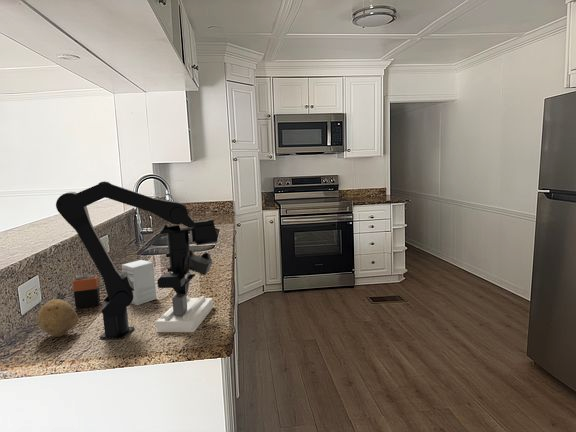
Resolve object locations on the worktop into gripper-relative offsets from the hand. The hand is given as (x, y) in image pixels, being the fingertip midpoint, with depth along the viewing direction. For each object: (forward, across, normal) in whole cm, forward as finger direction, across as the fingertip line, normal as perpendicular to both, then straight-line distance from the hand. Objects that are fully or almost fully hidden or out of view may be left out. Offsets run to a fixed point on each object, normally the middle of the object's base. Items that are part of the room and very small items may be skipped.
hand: (183, 301), depth 114 cm
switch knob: (+2, -3, 0) cm, 4 cm away
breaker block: (+6, +1, 0) cm, 6 cm away
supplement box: (+6, +17, +21) cm, 28 cm away
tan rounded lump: (+6, -10, +32) cm, 33 cm away
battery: (+6, +13, +37) cm, 40 cm away
